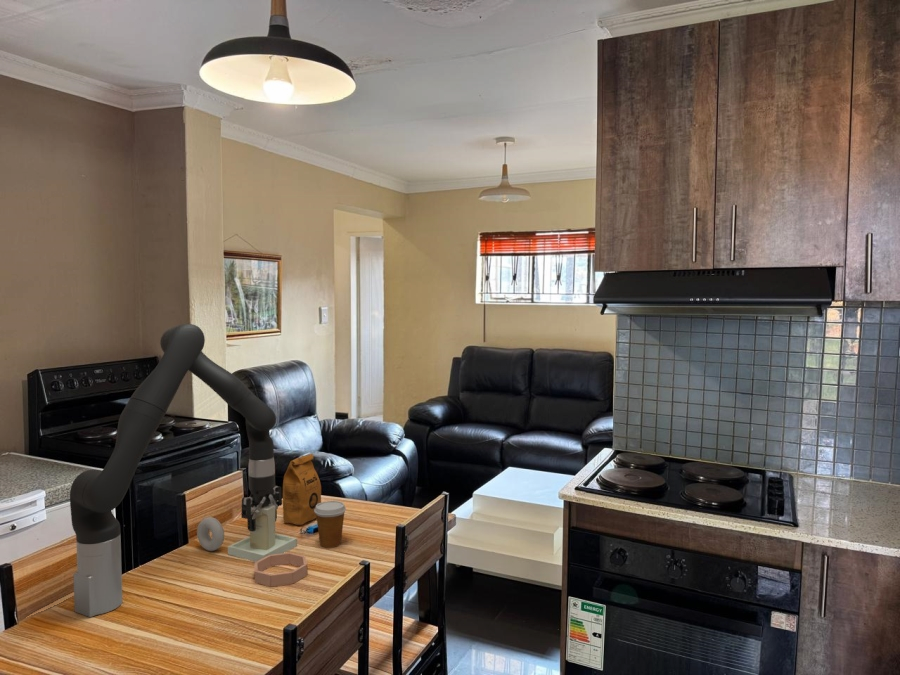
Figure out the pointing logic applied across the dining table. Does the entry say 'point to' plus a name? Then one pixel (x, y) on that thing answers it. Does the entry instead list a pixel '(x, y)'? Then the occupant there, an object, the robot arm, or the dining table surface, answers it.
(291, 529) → the dining table surface
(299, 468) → the coffee package
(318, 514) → the disposable coffee cup
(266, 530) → the skincare box
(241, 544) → the tray
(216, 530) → the donut
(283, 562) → the holder ring
